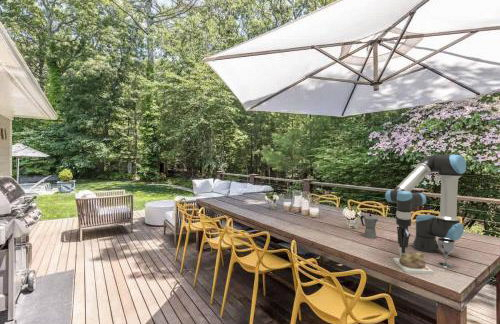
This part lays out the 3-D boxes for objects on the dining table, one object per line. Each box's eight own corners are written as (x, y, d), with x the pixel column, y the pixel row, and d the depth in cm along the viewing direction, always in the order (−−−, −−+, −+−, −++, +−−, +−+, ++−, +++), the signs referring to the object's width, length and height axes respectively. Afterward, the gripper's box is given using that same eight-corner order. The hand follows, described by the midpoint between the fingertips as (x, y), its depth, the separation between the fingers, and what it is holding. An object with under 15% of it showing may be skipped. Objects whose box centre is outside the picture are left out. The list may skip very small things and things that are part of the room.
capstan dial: (413, 258, 166) (413, 248, 166) (431, 266, 154) (431, 256, 154) (393, 260, 163) (393, 250, 163) (411, 269, 151) (411, 258, 150)
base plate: (417, 261, 167) (417, 257, 167) (433, 274, 149) (433, 270, 149) (393, 260, 168) (393, 256, 168) (406, 272, 151) (406, 269, 151)
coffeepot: (381, 237, 213) (381, 214, 212) (374, 239, 208) (374, 216, 207) (363, 232, 226) (363, 211, 225) (356, 234, 220) (356, 212, 220)
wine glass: (442, 267, 157) (442, 241, 157) (435, 262, 165) (435, 237, 164) (457, 268, 156) (457, 242, 155) (449, 262, 164) (449, 238, 163)
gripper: (392, 215, 164) (391, 253, 166) (401, 220, 152) (399, 262, 154) (405, 215, 163) (404, 253, 165) (415, 221, 151) (414, 262, 153)
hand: (402, 257), depth 159 cm, fingers closed
